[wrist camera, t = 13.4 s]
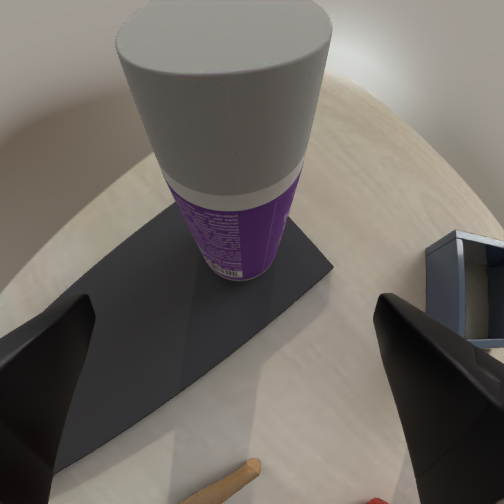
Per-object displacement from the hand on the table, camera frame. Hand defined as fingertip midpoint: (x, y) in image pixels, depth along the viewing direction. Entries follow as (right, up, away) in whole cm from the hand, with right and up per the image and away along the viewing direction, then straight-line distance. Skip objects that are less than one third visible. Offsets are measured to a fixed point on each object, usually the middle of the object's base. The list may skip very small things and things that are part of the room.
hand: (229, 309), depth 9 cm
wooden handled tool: (-4, -15, +6) cm, 17 cm away
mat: (-9, -5, +9) cm, 13 cm away
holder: (+17, -2, +10) cm, 19 cm away
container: (0, +2, +11) cm, 11 cm away
